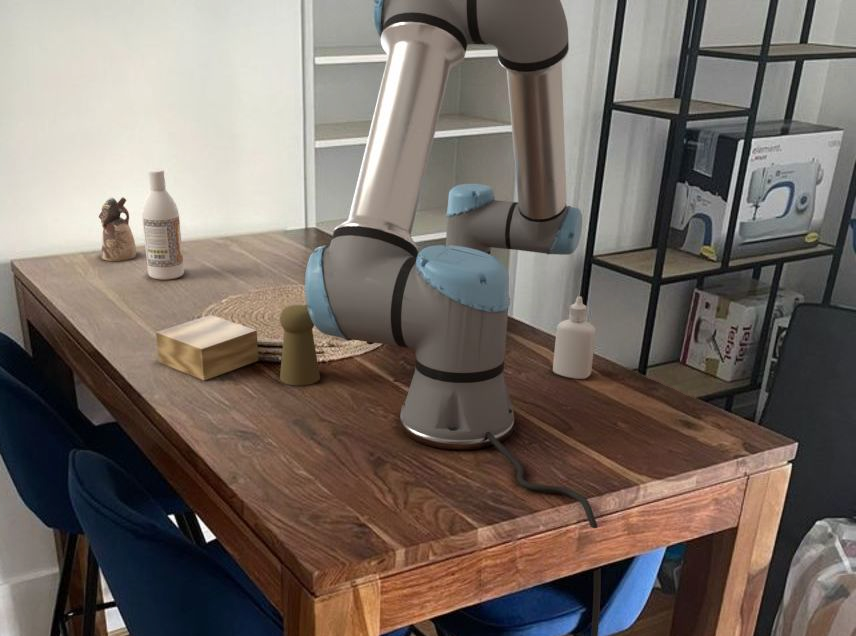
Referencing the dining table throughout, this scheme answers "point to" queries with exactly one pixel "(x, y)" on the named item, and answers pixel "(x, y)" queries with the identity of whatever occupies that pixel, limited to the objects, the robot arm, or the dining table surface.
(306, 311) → the olive green peg figure
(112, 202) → the figurine
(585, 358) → the eye dropper bottle
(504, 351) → the robot arm
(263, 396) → the dining table surface
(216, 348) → the riser block
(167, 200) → the bath foam
